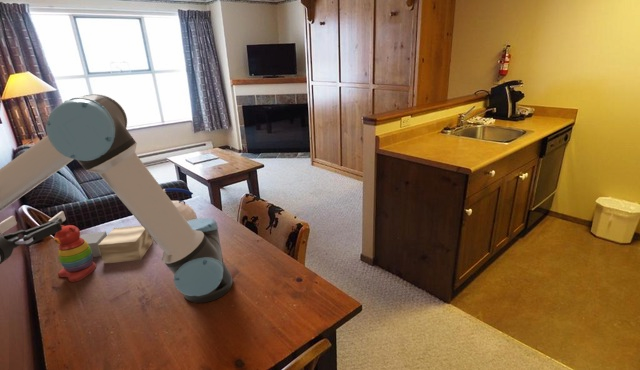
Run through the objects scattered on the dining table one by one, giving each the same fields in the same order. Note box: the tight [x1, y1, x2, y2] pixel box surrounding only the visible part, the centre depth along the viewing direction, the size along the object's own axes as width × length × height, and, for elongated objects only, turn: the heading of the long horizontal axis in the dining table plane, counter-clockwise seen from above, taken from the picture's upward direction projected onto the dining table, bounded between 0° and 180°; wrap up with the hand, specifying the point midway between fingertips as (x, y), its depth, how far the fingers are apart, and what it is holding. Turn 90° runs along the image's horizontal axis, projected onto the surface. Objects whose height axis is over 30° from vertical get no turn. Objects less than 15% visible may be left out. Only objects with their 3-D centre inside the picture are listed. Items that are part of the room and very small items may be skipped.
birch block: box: [98, 225, 154, 264], centre depth 130 cm, size 13×13×8 cm
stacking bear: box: [53, 224, 97, 283], centre depth 117 cm, size 11×10×18 cm
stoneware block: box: [80, 231, 108, 258], centre depth 132 cm, size 9×9×6 cm
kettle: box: [162, 187, 198, 221], centre depth 147 cm, size 20×21×18 cm
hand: (39, 217), depth 102 cm, fingers open, 13 cm apart
